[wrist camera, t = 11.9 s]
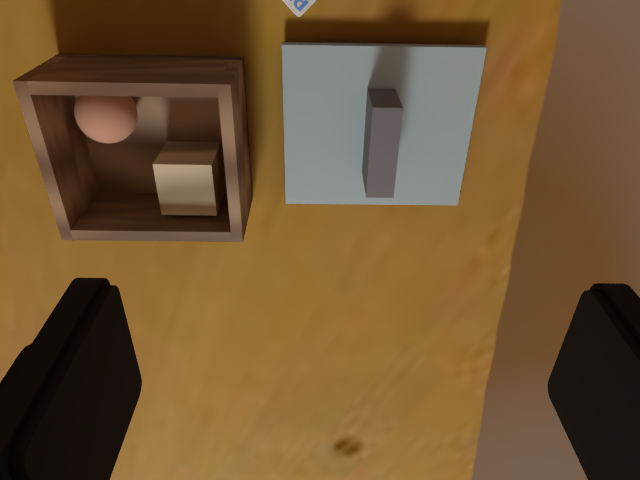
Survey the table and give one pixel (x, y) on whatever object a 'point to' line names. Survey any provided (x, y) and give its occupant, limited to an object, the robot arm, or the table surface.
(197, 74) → the crate
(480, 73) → the lid
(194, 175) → the block load
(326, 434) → the table surface
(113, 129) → the ball load
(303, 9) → the light bulb box
